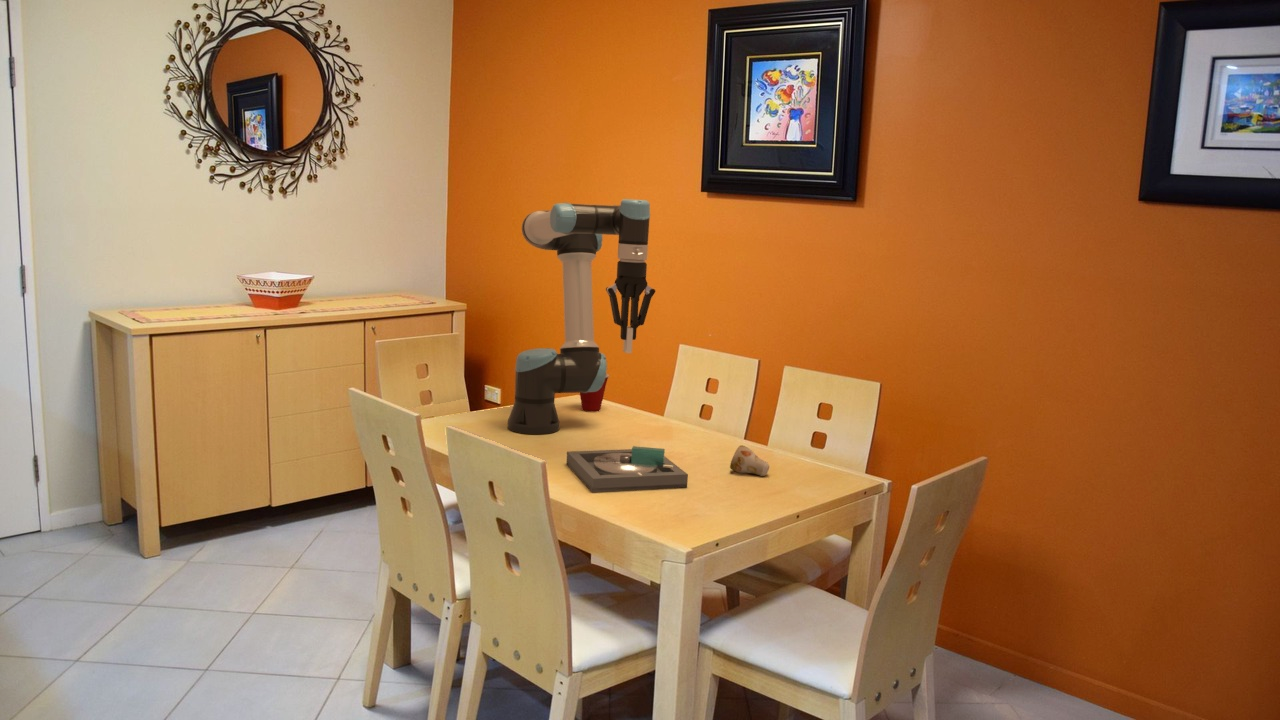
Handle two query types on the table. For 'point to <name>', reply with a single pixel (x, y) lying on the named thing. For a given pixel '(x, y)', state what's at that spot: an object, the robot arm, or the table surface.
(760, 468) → the beige spotted tapered lump
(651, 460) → the dial
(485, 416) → the table surface
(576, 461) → the housing
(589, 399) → the plastic cup
